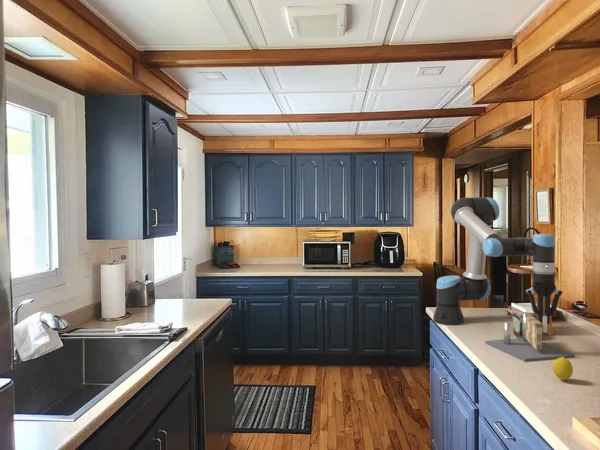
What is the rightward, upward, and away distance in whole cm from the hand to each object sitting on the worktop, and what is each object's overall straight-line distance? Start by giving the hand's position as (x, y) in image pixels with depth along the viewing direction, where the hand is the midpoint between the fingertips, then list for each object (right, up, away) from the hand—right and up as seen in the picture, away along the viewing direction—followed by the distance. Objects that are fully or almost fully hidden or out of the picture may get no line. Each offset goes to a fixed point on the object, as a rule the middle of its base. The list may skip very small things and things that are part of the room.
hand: (544, 331), depth 172 cm
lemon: (-10, -9, -29) cm, 32 cm away
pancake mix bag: (+17, -8, +32) cm, 37 cm away
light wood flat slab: (-3, -6, +3) cm, 7 cm away
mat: (-5, -8, +4) cm, 10 cm away
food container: (+3, -8, +22) cm, 23 cm away
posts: (-5, -8, +11) cm, 15 cm away
